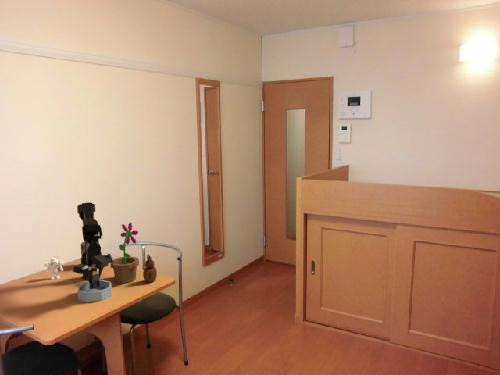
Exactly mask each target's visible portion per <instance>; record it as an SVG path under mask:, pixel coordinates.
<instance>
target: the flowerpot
mask: <svg viewBox="0 0 500 375" xmlns="http://www.w3.org/2000/svg"><path fill="white" fill-rule="evenodd" d="M121 228H122V230H123V231H124V232H120V237H121V238H124V237H125V238H124V241H123V244H119V245H118V247H119V250H120V251H123V253H122V254H123V256H120V257H117V258H114V259H112V260H113V262H111V263H110V268H111V269H112V270H113V274H114V280H115V283H118V284H130V283H133V282H135V281H134V280H137V269H138V266H140V260H139V258H138V257H135V256H132V255H130V254H129V253H127V252H126V248H127V247H126V245H127V246H128V245H130V243H133V244H135V245H136V244H137V239H136V238H135V236H137V234H139V232H138V230H136V229H135V230H133V223H132V222H129V223H128V225H125V224H123V223H122V224H121Z"/></svg>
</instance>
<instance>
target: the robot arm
mask: <svg viewBox="0 0 500 375" xmlns="http://www.w3.org/2000/svg"><path fill="white" fill-rule="evenodd" d="M76 212H77V214H78V216H79V218H80V220H81V221H82V226H81V232H82V239H83V242H84V247H85V248H84V250H83V252H82V257H81V256H80V263H78V264H76V265H74V266H73V267H72V272H73V273H76V274H80V275H82V276H81V279H83V280H86V281H87V282H89V283H92V272H93V270H91V267H93V266H95V267H99V279H100V280H101V275H102V273H103V270H104V268H106V267H108V266H109V264H111V262H113V260H114V259H113V257H112V255H111V254H110V253H107V254H103V252H102V247H101V244H100V242H99V241H100V240H101V239H102V237H103V229H102V226H101V224H99V222H98V220H97V219H95V212H96V204H95V203H93V202H91V201H90V202H82V203H81V204H78V205H77V206H76Z"/></svg>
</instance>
